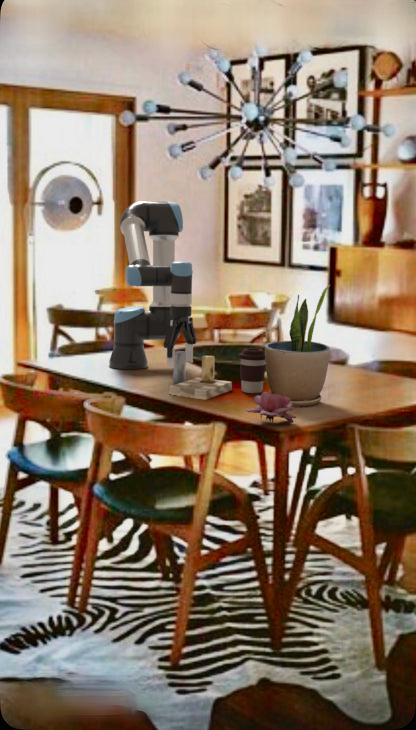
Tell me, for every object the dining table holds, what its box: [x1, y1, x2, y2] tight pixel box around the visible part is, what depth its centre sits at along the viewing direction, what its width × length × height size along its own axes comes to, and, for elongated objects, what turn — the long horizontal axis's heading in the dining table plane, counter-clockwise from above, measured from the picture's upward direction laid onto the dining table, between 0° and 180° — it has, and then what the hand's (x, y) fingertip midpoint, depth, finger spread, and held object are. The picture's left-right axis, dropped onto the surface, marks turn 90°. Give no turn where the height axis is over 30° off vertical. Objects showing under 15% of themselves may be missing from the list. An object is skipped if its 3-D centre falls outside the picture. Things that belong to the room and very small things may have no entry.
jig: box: [168, 377, 233, 401], centre depth 352 cm, size 20×14×3 cm
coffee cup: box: [238, 347, 266, 394], centre depth 355 cm, size 10×10×15 cm
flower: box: [246, 391, 297, 425], centre depth 307 cm, size 15×15×10 cm
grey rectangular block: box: [172, 350, 187, 385], centre depth 364 cm, size 4×4×12 cm
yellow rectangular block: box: [201, 355, 216, 384], centre depth 355 cm, size 4×4×12 cm
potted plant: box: [264, 284, 331, 408], centre depth 336 cm, size 21×22×40 cm
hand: (179, 364), depth 363 cm, fingers open, 13 cm apart
